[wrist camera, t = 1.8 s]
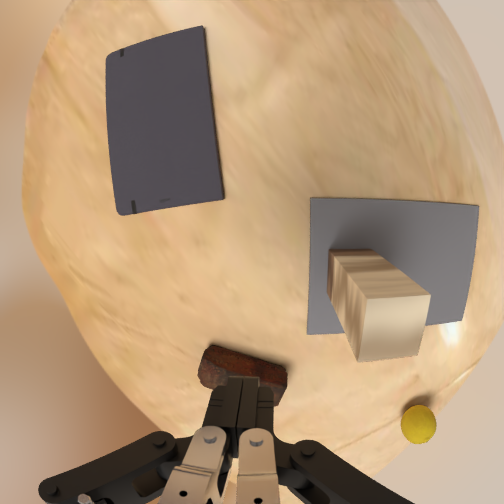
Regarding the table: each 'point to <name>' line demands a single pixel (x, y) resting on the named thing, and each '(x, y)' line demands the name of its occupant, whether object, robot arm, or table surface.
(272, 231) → the table surface
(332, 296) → the tall block
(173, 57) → the notebook
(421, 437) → the lemon
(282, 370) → the brick
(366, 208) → the rubber mat
